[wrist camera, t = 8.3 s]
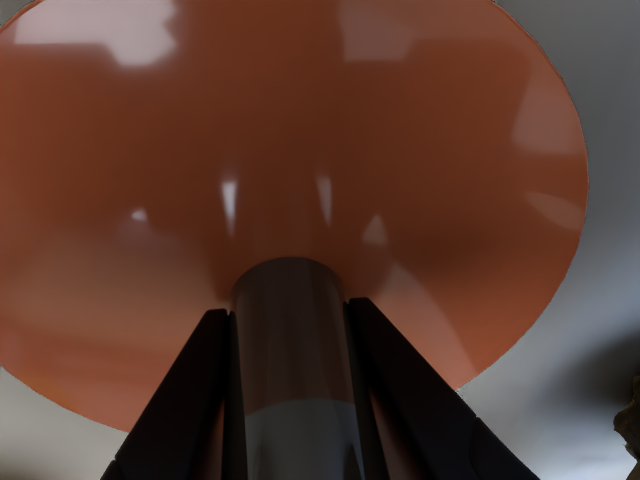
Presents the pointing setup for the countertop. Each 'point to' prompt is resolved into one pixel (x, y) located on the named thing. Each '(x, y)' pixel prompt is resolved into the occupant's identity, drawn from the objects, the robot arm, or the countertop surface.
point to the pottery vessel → (631, 428)
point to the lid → (276, 205)
